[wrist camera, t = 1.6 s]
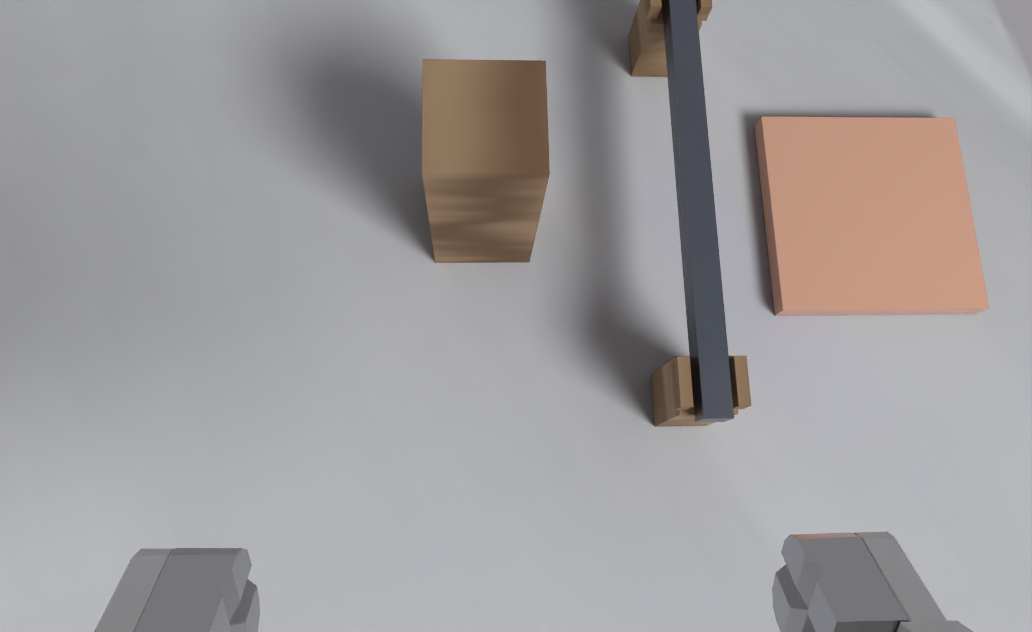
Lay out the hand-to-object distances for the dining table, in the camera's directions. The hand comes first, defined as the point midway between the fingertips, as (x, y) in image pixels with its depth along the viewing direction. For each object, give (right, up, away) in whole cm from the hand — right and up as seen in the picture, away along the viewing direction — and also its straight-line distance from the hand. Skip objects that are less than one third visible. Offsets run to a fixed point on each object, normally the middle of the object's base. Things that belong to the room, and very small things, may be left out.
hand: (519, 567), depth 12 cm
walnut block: (-2, +9, +25) cm, 27 cm away
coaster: (+17, +9, +27) cm, 33 cm away
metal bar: (+8, +10, +22) cm, 25 cm away
